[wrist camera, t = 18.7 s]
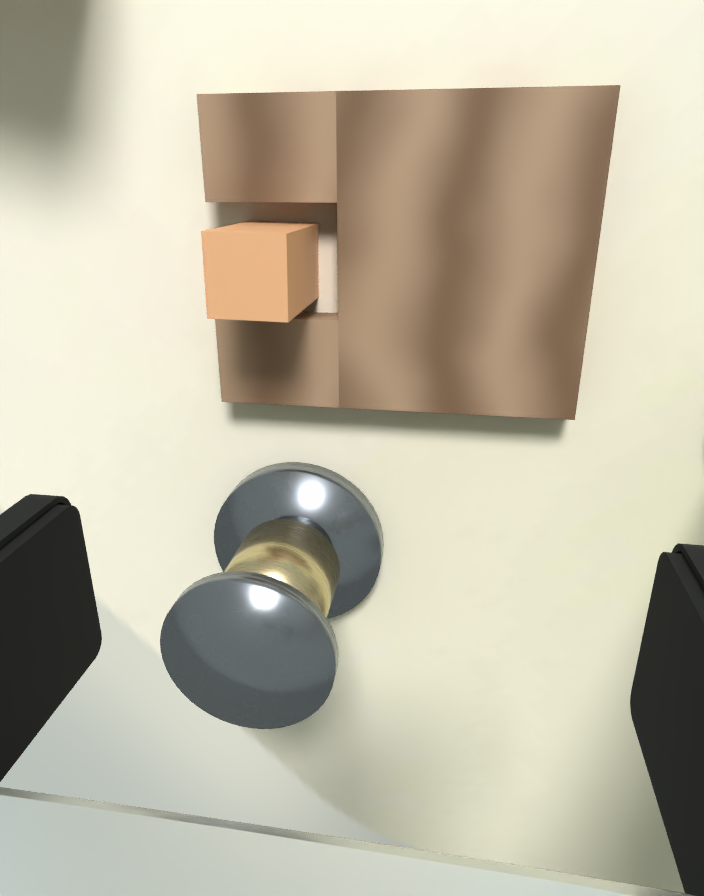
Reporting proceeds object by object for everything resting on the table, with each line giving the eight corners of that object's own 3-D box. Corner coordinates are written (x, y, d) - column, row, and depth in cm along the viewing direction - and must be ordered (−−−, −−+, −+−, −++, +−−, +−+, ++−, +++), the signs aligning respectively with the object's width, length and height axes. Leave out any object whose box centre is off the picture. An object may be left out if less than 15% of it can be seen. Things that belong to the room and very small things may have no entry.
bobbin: (385, 467, 41) (354, 575, 30) (382, 614, 45) (354, 755, 34) (215, 457, 42) (128, 555, 31) (228, 599, 47) (154, 729, 36)
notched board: (611, 90, 31) (620, 85, 30) (569, 407, 37) (574, 419, 36) (211, 98, 34) (196, 94, 32) (232, 391, 40) (221, 401, 39)
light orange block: (318, 223, 36) (286, 233, 30) (318, 297, 37) (288, 322, 31) (247, 221, 36) (201, 231, 30) (250, 294, 38) (207, 318, 32)
